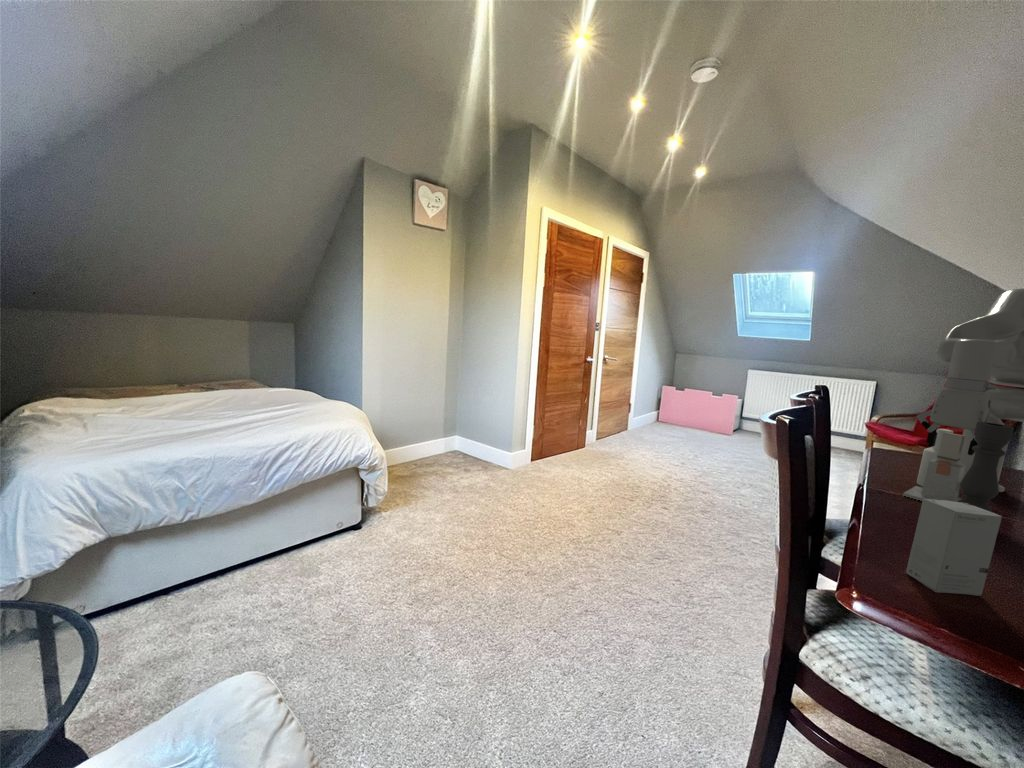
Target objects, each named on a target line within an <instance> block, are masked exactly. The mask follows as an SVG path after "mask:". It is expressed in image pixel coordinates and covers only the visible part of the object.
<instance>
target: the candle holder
mask: <svg viewBox="0 0 1024 768" xmlns="http://www.w3.org/2000/svg"><path fill="white" fill-rule="evenodd" d="M1014 428H1015V427H1014V426H1012V425H1011V426H1010V425H1007V424H1005V425H1002V424H996V423H988V422H977V423H976V428H975V432H974V435H975V440H976V442H977V445H976V446H973V447H972V449H973V450H974V452H975V455H974V459H973V463H972V466H971V467H970V469H969V470H968V472H967V473H966V475H965V476H964V478H963V480H962V481H961V483H960V490H961V492H962V493H963V494H962V496H963V497H961V498H962V499H961V500H959V501H957V502H961V503H968V504H971V505H973V506H976V507H979V508H981V509H984V510H987V511H990V512H992V513H993V508H991V506H990V505H989V503H990V502H991V500H993V499H994V498H996V497H997V496H998V495H999V493H1000V492H999V488H998V484H999V481H998V478H997V466H998V462H999V458H1000V457H1001V456H1004V455H1005V456H1006V453H1007V452H1006V453H1005V452H1004V451H1003V450H1002V448H1003V447H1004V446H1005V445H1007V444H1008V445H1009V443H1008V441H1009V442H1011V441H1012V440H1011V439H1012V436H1013V433H1014V430H1015V429H1014Z"/></svg>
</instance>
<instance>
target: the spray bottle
mask: <svg viewBox="0 0 1024 768" xmlns="http://www.w3.org/2000/svg"><path fill="white" fill-rule="evenodd" d="M936 432H937V433H938V434H937V438H936V442H935V446H933V447H927V448H924V449H923V452H922V457H921V461H920V466H919V470H918V474H917V479H916V485H917V486H919V487H922V488H923V485H924V481H925V477H926V473H927V468H928V464H929V461H930V460H932V459H934V458H937V455H938V453H939V449H940V445H941V440H942V436H943V433H946V432H947V433H953V434H954V430H950V429H947V428H946V429H945V428H938V429H937V431H936Z"/></svg>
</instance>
